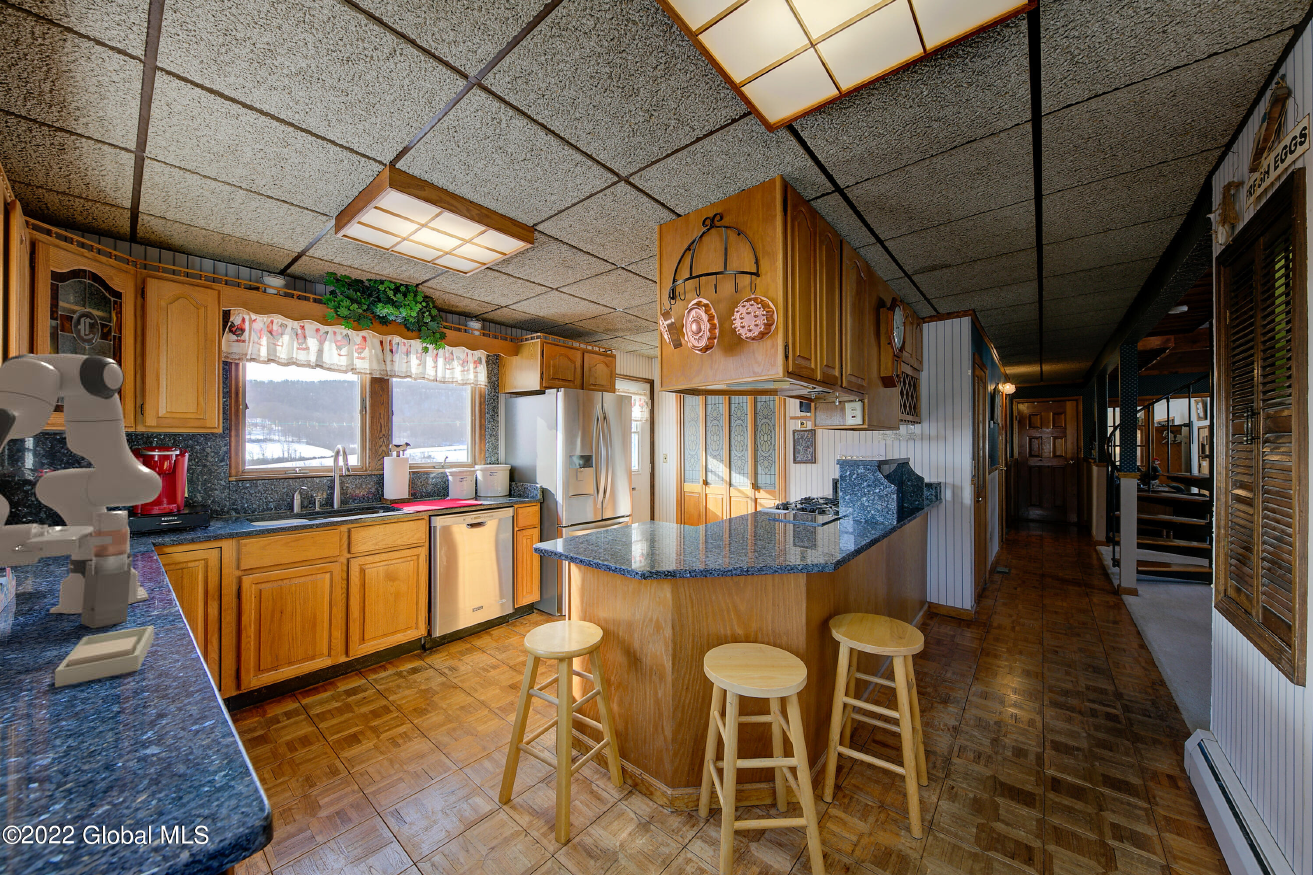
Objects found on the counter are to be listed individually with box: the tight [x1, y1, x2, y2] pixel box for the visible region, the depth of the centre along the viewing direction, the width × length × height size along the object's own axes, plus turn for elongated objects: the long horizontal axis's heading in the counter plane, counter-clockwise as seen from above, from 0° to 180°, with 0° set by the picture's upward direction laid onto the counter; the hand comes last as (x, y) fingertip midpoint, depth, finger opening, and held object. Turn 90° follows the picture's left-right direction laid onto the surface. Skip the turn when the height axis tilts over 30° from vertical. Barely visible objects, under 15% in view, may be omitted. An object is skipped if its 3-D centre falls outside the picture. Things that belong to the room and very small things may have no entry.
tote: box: [54, 624, 155, 688], centre depth 104 cm, size 21×11×4 cm, turn 39°
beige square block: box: [68, 636, 138, 667], centre depth 101 cm, size 8×8×4 cm
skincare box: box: [80, 561, 132, 629], centre depth 129 cm, size 8×7×16 cm
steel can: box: [92, 510, 129, 575], centre depth 119 cm, size 6×6×14 cm
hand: (115, 536), depth 119 cm, fingers closed on steel can, 6 cm apart
